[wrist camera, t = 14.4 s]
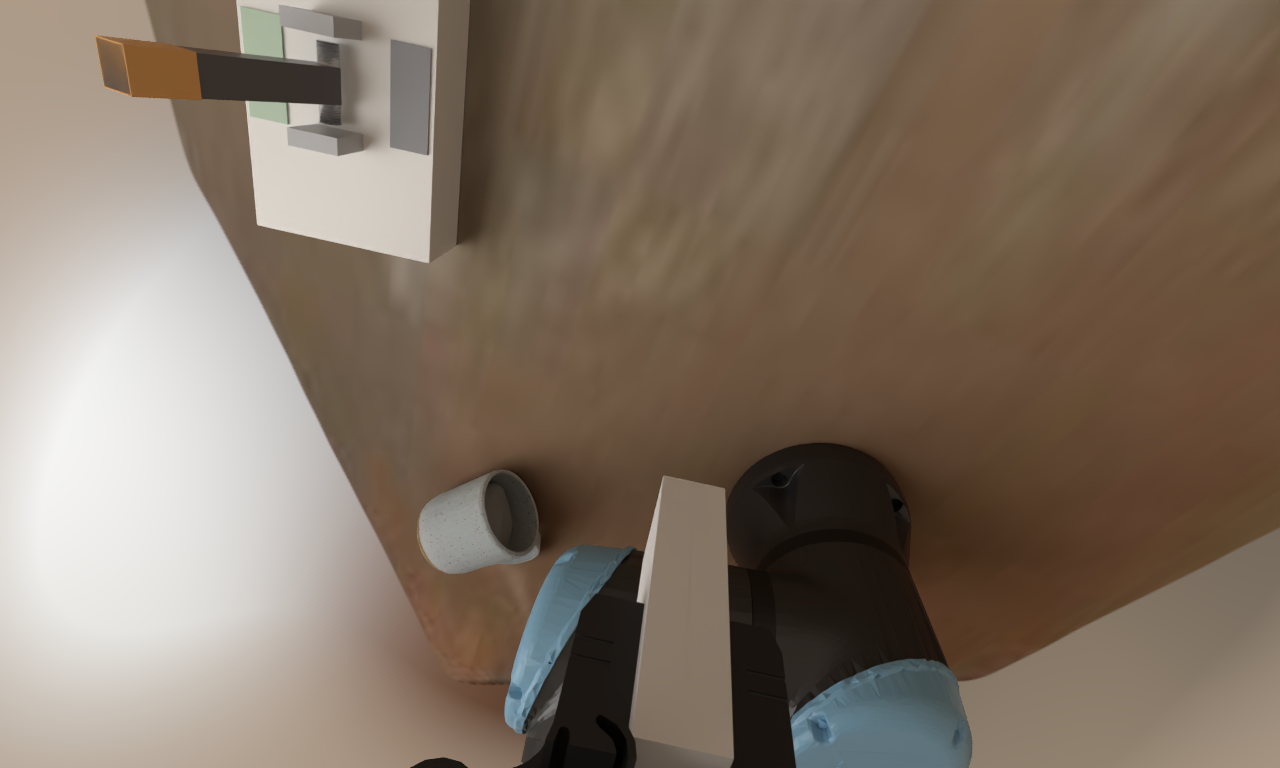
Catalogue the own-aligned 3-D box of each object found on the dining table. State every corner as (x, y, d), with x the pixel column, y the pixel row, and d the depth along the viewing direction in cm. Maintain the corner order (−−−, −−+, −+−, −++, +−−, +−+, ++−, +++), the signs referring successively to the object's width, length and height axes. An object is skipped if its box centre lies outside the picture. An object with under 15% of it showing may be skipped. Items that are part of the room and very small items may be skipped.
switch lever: (351, 127, 38) (136, 124, 28) (327, 119, 38) (109, 113, 29) (349, 46, 36) (117, 13, 26) (323, 39, 36) (88, 5, 27)
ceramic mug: (431, 483, 57) (394, 541, 50) (502, 451, 54) (473, 507, 47) (497, 563, 60) (471, 626, 54) (566, 536, 58) (548, 598, 51)
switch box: (456, 245, 46) (409, 275, 39) (300, 210, 46) (226, 235, 39) (474, -77, 37) (418, -114, 30) (281, -119, 37) (179, -166, 30)
